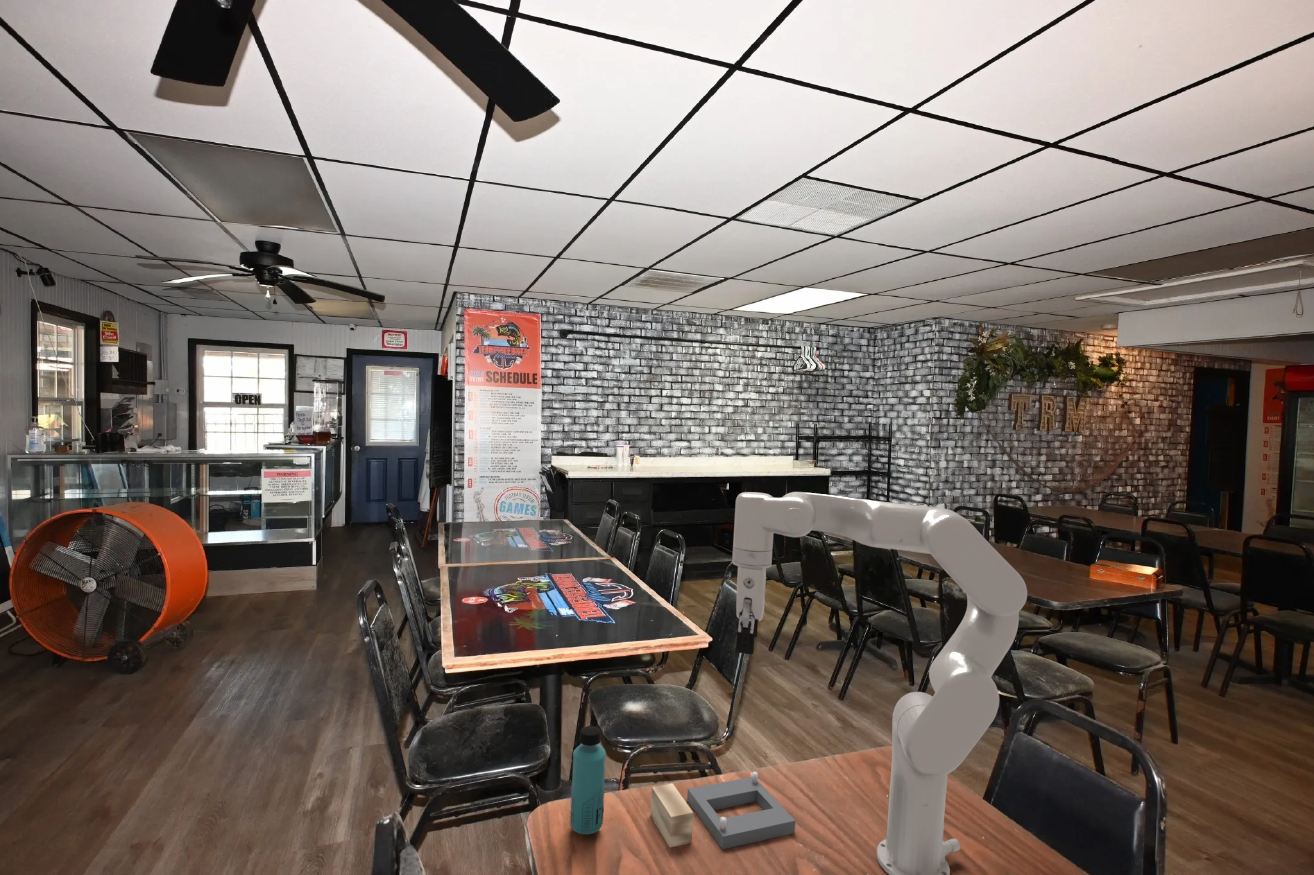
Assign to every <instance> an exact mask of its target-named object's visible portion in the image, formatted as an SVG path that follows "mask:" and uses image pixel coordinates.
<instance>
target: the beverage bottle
mask: <svg viewBox="0 0 1314 875" xmlns="http://www.w3.org/2000/svg"><path fill="white" fill-rule="evenodd" d="M601 735H602V733H601V729H600V728H599V727H597V726H593V725H588V726H584V727H582V728H581V729H580V732H579V738H578V741H579V743H580V744H579V745H578V746H577V747H576V748H575V749H574V750H573V753H572V756H573V760H572V777H571V778H572V779H571V780H572V781H571V795H570V796H571V797H570V802H569V803H570V809H569V812H570V815H569V819H570V820H569V824H570V826H571V829H572V830H573V831H575V832H576V833H578V834H580V835H591V834H595V833H597V832H599V831H600V830H601V828H602V826H603V824H604V813H605V807H604V804H605V799H604V798H605V794H606V793H605V782H606V756H607V753H606V750H605V748H604V747H602V745H601V744H600V743H601V741H602V736H601Z"/></svg>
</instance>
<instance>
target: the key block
mask: <svg viewBox="0 0 1314 875" xmlns="http://www.w3.org/2000/svg"><path fill="white" fill-rule="evenodd" d="M650 798H651V800H650V801H651V802H650V818H651V819H652V820H653V822H654V824H655V826H656V827H657V829H658V830H659V833H661V835H662V837H663V839H664V841H665V842H666V844H667V846H668V847H669V848H674V847H679V846H682V845H688V844H691V843H692V842H693V841H692V840H693V839H692V838H693V821H694V811H693V810H692V809H691V807H690V806H689V804H688V803H687V801H686V800H685V799H684V797H682V794H681V793H680V792H679V790H678V789H677V787H676V786H675V785H674V783H668V784H662V785H657V786H652V787H651V797H650Z"/></svg>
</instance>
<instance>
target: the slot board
mask: <svg viewBox="0 0 1314 875" xmlns="http://www.w3.org/2000/svg"><path fill="white" fill-rule="evenodd" d="M758 777H759V773H758V771H752V773H751V776H750V777H749V776H748V777H744V778H738V779H737V778H736V779H732V780H727V781H722V782H716V783H710V784H705V785H701V786H695V787H694V786H693V787H689V788H687V797H686V800H687V801H686V802H688V805H690V806H691V807H692V809H693V810H694V811H693V812H695V814H697V816H698V818H699V819H700V820H701V822H702V823H703V825H704V826H705V827H706V828H707V830H708V831H709V833H710V835H712V837H713V839H714V840H715V841H716V843H717V844H718V846H719V847H720V849H722V850H726V849H731V848H735V847H738V846H743V845H744V846H745V845H748V844H752V843H758V842H760V841H765V840H770V839H774V838H778V837H783V836H787V835H791V834H795V831H796V820H795V818H794V817H793V816H792V815H791V814H790V813H789V812H788V811H787V810H786V809H785V808H784V807H783V805H781V803H780V802H778V800H777V799H776V798H775V797H774V796H773V794H771V793H770V792H769V791H768V790H767V789H766V787H765V786H763V785H762V783H761V781H759V779H758ZM751 803H757V804H758V805H759V806H760V808H761V809H762V810H758V811H753V812H749V813H743V814H739V815H734V816H729V817H725V816H721V817H720V816H719V815H718V814H717V811H716V810H723V809H726V808H731V807H732V808H733V807H736V806H741V805H746V804H747V805H748V804H751Z"/></svg>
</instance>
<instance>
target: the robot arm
mask: <svg viewBox="0 0 1314 875" xmlns="http://www.w3.org/2000/svg"><path fill="white" fill-rule="evenodd" d="M733 527H734V528H733V540H732V541H733V543H732V544H733V545H732V560H731V562H732V564H733V565H734V566H737V577H736V578H737V580H736V600H735V601H736V605H735V606H736V607H735V608H736V617H737V618H738V619H739V621H738V628H737V632H736V633H737V634H736V649H735V650H736V651H735V652H736V653H737V654H745V655H753V654H754V650H755V638H756V637H758V629H759V628H758V626H759V622H761V621H762V620H763V618H764V613H765V601H766V600H765V599H766V582H767V569H770V568H771V567H772V561H773V559H772V558H773V549H774V548H773V547H774V545H773V544H774V534H777V535H782V536H785V537H790V538H802V537H804V536H807V535H808V534H810V532H811V531H816V532H824V533H828V534H829V533H830V534H835V535H839V536H843V537H846V538H849V539H850V540H853V541H855V542H857V543H859V544H860V545H865V546H868V547H872V548H879V549H888V550H890V549H891V550H898V551H906V552H907V551H908V552H913V553H920V554H921V553H922V554H929V555H931V556H932V557H933V559H934V560H935V561H936V562H937V563H938V564H939V565H940V567H941V568H942V569H943V570H944V571H945V572H946V574H947V575H948V576H949V577H950V578H951V579H952V580H953V581H954V582H955V583H956V584H957V585H958V586H959V588H961V589H962V590H963V592H965V594H966V598H967V599H966V600H967V602H966V604H967V606H966V611H965V613H964V616H963V618H962V620H961V622H960V624H959V625H958V626H957V628H956V630H955V631H954V633H953V634H952V635H951V637H950V638H949V640H948V641H947V642H946V643H945V645H944V646H943V648H942V649H941V650H940V652H939V653H938V654H937V656H936V657H935V658H934V660H933V661H932V662H931V665H930V667H929V671H928V678H929V681H930V685H931V686H932V689H933V692H934V694H933V696H932V695H931V694H929V693H927V692H922V691H911V692H909V693H905V694H904V695H903V696H901V697H900V698H899V699H898V700H897V702H896V704H895V706H894V707H893V708H894V709H893V713H892V720H891V722H892V723H891V724H892V725H891V730H892V732H891V733H892V735H891V737H892V738H891V739H892V740H891V741H892V744H891V746H892V747H891V748H892V749H891V752H892V754H891V770H890V782H889V796H888V798H889V799H888V810H887V812H888V813H887V825H886V838H884V839H883V840H881V841H880V842H879V843H878V845H877V847H876V859H877V861H878V863H879V864H878V865H879V866H880V867H881V868H882V869H883V870H884V872H886V873H887V874H888V875H950V871H951V869H950V864H949V863H948V862H947V860H946V856H948V855H949V853H954V852H958V851H960V850H961V843H960V842H959V840H958V839H957V838H950V839H947V840H946V841H944V840H945V838H944V823H945V812H946V811H945V809H946V796H947V789H948V787H947V785H948V775H950V773H952V772H953V771H956V769H957V768H958V767H959V766H960V765H961V764H962V763H963V762H964V761H965V759H966V758H967V757H968V755H969V754H970V753H971V752H972V750H973V749H974V747H975V746H976V744H978V743H979V741H980V739H981V738H982V736H983V735H984V734H985V733H986V732H987V730H988V729H989V727H990V726H991V724H992V723H993V722H994V720H995V718H996V716H997V714H998V709H999V707H1000V694H999V690H998V687H997V685H996V683H995V681H994V680H993V678H992V677H993V675H994V673H995V671H996V670H997V669H998V667H999V666H1000V664H1001V662H1003V659H1004V658H1005V656H1006V654H1007V653H1008V652H1009V649H1010V648H1011V647H1012V645H1013V643H1014V641H1015V638H1016V635H1017V632H1018V628H1019V621H1020V620H1019V618H1020V617H1019V616H1020V614H1019V612H1020V611H1021V610H1022V609H1023V607H1024V606H1025V605H1026V602H1027V600H1028V599H1027V598H1028V589H1027V585H1026V583H1025V580H1024V579H1023V577H1022V576H1021V574H1020V573H1019V572H1018V571H1017V570H1016V569H1015V568H1014V567H1013V566H1012V565H1011V564H1010V563H1009V562H1008V560H1006V559H1005V558H1004V557H1003V556H1002V555H1001V554H1000V553H999V552H998V550H996V548H994V547H993V545H991V543H989V541H987V539H986V538H985V537H984V536H983V535H982V534H981V533H980V532H979V531H978V530H977V528H976V527H975V526H974V525H973V524H972V523H971V522H970V521H969V520H968V519H966V517H963V516H962V515H960V514H959V513H957V512H955V511H954V510H951V509H946V508H943V507H936V506H926V505H925V506H924V505H919V504H917V505H916V504H907V503H896V502H888V501H887V502H886V501H879V500H871V499H866V498H854V497H853V498H852V497H847V496H840V495H839V496H838V495H831V494H821V493H812V492H804V491H803V492H802V491H792V492H789V493H786V494H785V495H783V496H782V497H774V496H772V495H770V494H769V493H764V492H757V491H756V492H755V491H754V492H751V491H750V492H749V491H747V492H746V491H744V492H741V493H739V494H738V495H737V497H736V499H735V508H734V526H733Z"/></svg>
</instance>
